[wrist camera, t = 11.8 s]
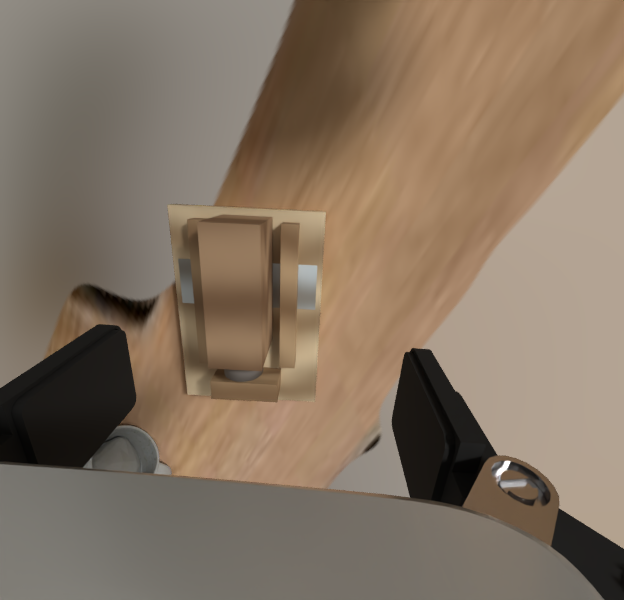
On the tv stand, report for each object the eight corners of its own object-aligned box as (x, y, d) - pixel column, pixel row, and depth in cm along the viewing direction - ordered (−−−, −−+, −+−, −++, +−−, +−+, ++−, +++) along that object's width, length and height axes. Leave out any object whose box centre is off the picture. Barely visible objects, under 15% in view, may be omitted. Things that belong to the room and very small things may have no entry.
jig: (173, 204, 29) (150, 207, 26) (325, 211, 29) (326, 215, 25) (191, 388, 36) (175, 412, 32) (315, 394, 36) (314, 420, 32)
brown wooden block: (221, 214, 28) (197, 222, 23) (272, 216, 28) (260, 225, 23) (229, 353, 33) (209, 388, 28) (272, 356, 33) (262, 391, 27)
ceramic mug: (82, 447, 40) (30, 507, 33) (120, 411, 38) (73, 466, 31) (151, 493, 43) (118, 557, 35) (190, 461, 40) (162, 523, 33)
